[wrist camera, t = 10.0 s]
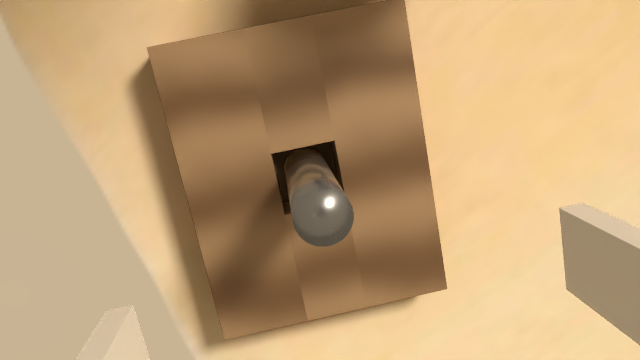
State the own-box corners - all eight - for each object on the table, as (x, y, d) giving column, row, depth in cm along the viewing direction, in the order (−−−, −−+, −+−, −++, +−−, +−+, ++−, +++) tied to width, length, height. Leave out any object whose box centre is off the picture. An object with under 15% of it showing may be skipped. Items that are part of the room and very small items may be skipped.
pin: (280, 153, 36) (286, 195, 25) (321, 143, 37) (347, 181, 25) (289, 193, 37) (300, 252, 26) (330, 184, 37) (359, 239, 26)
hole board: (156, 48, 34) (146, 47, 31) (392, 2, 35) (403, -4, 32) (227, 319, 39) (224, 340, 36) (433, 272, 40) (447, 288, 37)
